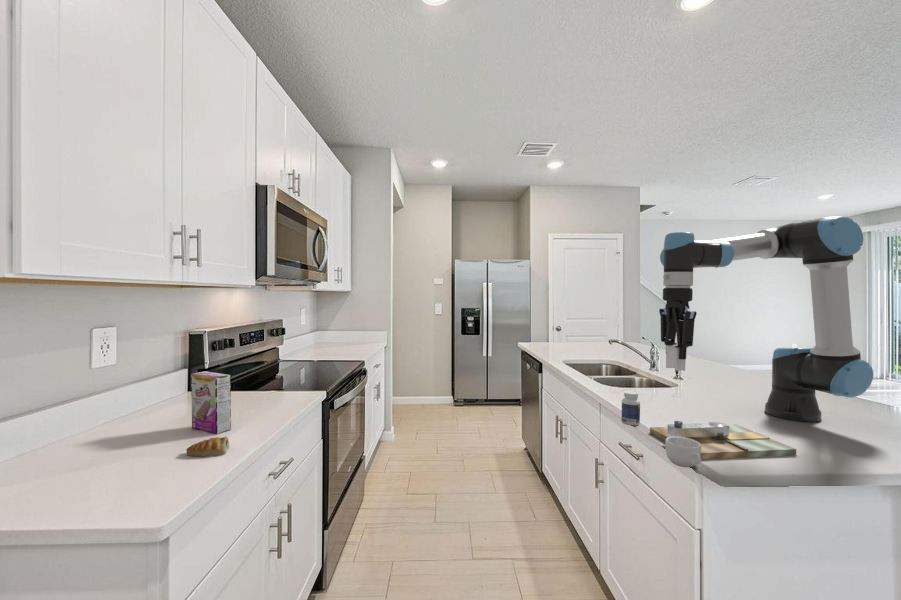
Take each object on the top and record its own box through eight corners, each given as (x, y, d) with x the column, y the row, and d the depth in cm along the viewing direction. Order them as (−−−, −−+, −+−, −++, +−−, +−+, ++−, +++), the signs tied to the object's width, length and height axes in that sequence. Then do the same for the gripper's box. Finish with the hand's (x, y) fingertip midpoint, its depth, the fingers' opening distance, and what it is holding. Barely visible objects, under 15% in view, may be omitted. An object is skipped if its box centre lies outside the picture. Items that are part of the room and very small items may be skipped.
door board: (736, 429, 133) (736, 422, 132) (796, 455, 113) (796, 446, 113) (649, 432, 129) (650, 424, 129) (696, 459, 109) (696, 450, 109)
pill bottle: (641, 426, 135) (642, 395, 134) (623, 425, 136) (623, 394, 135) (637, 421, 140) (638, 391, 140) (619, 420, 141) (620, 390, 141)
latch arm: (720, 430, 124) (720, 417, 123) (733, 436, 119) (734, 423, 118) (665, 432, 122) (666, 419, 121) (677, 438, 117) (677, 425, 116)
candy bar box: (190, 429, 128) (189, 373, 127) (206, 424, 133) (205, 370, 132) (216, 435, 123) (216, 377, 123) (232, 429, 128) (231, 374, 127)
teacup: (658, 458, 110) (658, 436, 110) (686, 456, 111) (687, 435, 111) (684, 475, 100) (684, 452, 100) (714, 473, 101) (715, 450, 101)
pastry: (183, 460, 106) (183, 445, 106) (190, 451, 112) (189, 436, 112) (226, 456, 109) (226, 440, 109) (230, 446, 115) (230, 432, 115)
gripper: (648, 286, 132) (646, 364, 133) (684, 287, 116) (681, 375, 117) (671, 287, 133) (669, 363, 134) (710, 287, 117) (707, 374, 118)
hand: (675, 368), depth 125 cm, fingers open, 3 cm apart
